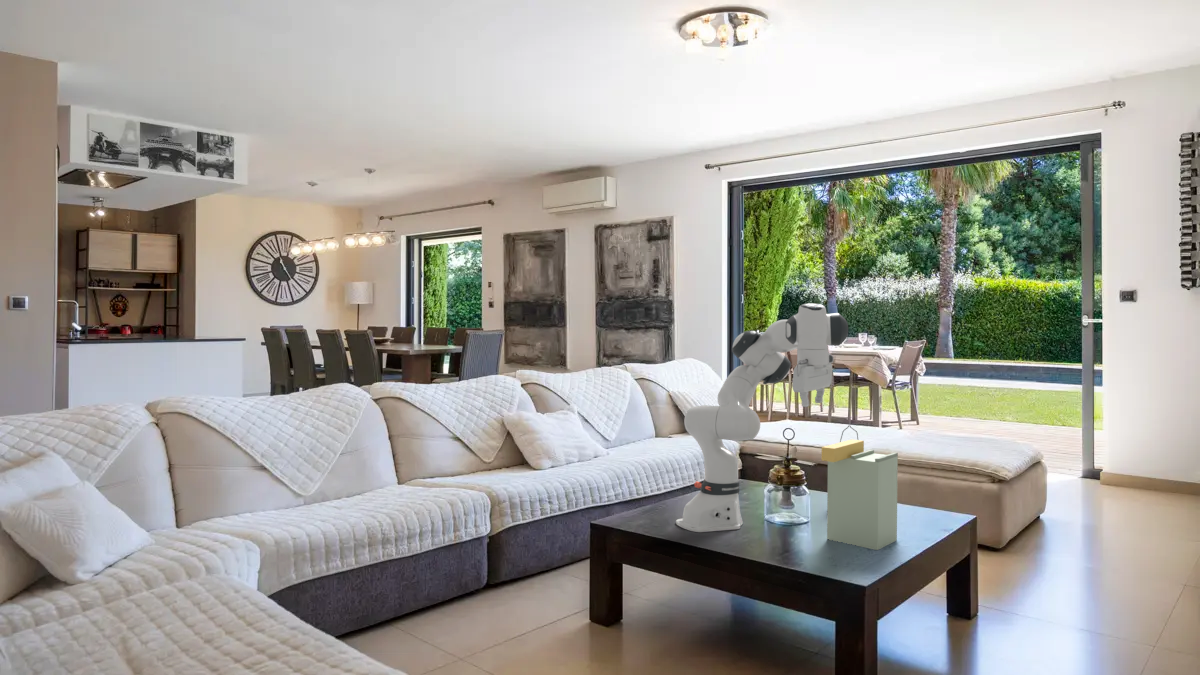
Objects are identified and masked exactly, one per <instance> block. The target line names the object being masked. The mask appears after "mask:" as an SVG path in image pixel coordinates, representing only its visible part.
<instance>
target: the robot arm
mask: <svg viewBox="0 0 1200 675" xmlns="http://www.w3.org/2000/svg"><path fill="white" fill-rule="evenodd" d="M848 335H849V323H848V321H847V319H846V318H845V317H844V316H843V315H841V314H840V313H839V312H834V313H827V309H826V307H825V305H823V304H819V303H815V302H814V303H811V302H810V303H808V302H807V303H803V304H801V305H799V307H798V312H797V313H795V314H794V315H792V316H790V317H789V318H788V319H780V320H776V321H774V322H772V323H771V324H770V325H769V326H768V327H767V329H766V330H765V331H764V332H763V333H760V330H759V329H756V330H746V331H743V332H742V333H740V334H739V335H737V337H735V339H734V341H733V343H732V347H731V353H732V354H733V355H734V356H735V357H736V358H737V359H739V360H740V361H741V362H742V363H743V364H741V365H738V366H737V367H735V368H734V369H733V370H732V371H731V372H730V373H729V375H728V376H727V377H726V379H725V381H724V382H723V384H722V386H721V388H720V389H719V392H718V393H717V403H718V405H706V404H705V405H704V404H702V405H696V406H691V407H690V408H688V410H687V411H686V413H685V415H684V420H683V421H684V422H683V423H684V428H685V430H686V432H687V433H688V434H689V436H691V437H692V438H694V440H695V441H696V442H697V444H698V446H699V448H700V450H701V452H702V456H703V464H704V480H703V481H702V482H700V481H695V482H694V487H695V488H697V489H700V490H699V492H698V493H697V494H696V495H695V496H694V497H693V498H692V499H691V500H689V501H688V502H687V503H686V504H685V505H684V508H683V513H682V518H678V519H676V520H675V524H676V525H677V526H678V527H680V528H682V529H685V530H688V531H691V532H696V533H707V532H717V531H719V532H720V531H730V530H733V531H734V530H739V529H741V526H742V525H743V523H744V522H743V519H742V514H741V507H740V500H739V496H740V480H739V460H738V457H737V455H736V454H735V453H734V452H733V451H731V450H730V449H728V448H727V447H726V446H725V445H724V443H723V440H724V441H725V440H727V441H738V442H740V441H748V440H749V441H750V440H754V439H755V438H756V437H757V435H758V434H759V433H760V428H761V419H760V417H759V415H758V413H757V412H756V411H755V410H753V409H752V408H751V407H750V404H751V401H752V399H753V398H754V395H755V393H756V389H757V387H758V386H759V383H760V382H762V381H763V383H762V384H763V385H767V384H777V383H779V382H781V381H782V380H784V379H785V378H787V376H788V374H789V373H790V370H791V367H792V362H791V361H790V360H789V357H787V356H786V355H783V354H782V353H788V352H792V351H794V350H796V357H797V358H796V363H797V364H796V366H795V367H794V369H793V373H792V374H793V375H792V391H793V393H799V397H800V400H801V407H805V408H808V407H810V400H809V392H812V391H815V392H816V394H815V397H814V402H815V404H822V403H823V397H824V394H825V392H826V391H825V390H826V389H825V388H828V387H831V384H832V380H833V363H834V361H835V360H834V355H832V354H831V353H830V352H829V346H836V347H837V346H841V345H842V344H843V343H844V342H845V341H846V339H847V337H848Z"/></svg>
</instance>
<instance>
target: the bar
mask: <svg viewBox="0 0 1200 675" xmlns="http://www.w3.org/2000/svg"><path fill="white" fill-rule="evenodd" d="M861 452H865V441H864V440H862V439H861V440H859V439H848V440H844V441H841V442H840V441H839V442H836V443H833V444H828V445H825V446H821V461H822V462H828V461H829V462H836V461H840V460H843V459H847V458H850V457H851V455H855V454H858V453H861Z"/></svg>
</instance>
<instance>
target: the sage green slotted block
mask: <svg viewBox="0 0 1200 675" xmlns="http://www.w3.org/2000/svg"><path fill="white" fill-rule="evenodd" d="M898 461H899V460H898V452H891V453H888V454H883V453H875V449H868V450H864V452H861V453H858V454H855V455H851V457H850V458H847V459H843V460H840V461H836V462H829V461H827V496H826V497H827V498H826V499H827V506H826V507H827V513H826V514H827V515H826V516H827V517H826V518H827V524H826V527H827V528H826V532H827V534H826V540H827V539H829V540H828V541H832V540H833V542H837V541H838V543H841V542H843V543H842V544H846V543H847V544H846V545H851V544H852V545H851V546H855V545H856V547H860V548H866V549H870V550H875V551H879V550H881V549H883V548H885V547H887V546H888V545H891V544H893V543H894V542H897V541H898V471H899V470H898V466H899V463H898Z"/></svg>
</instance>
